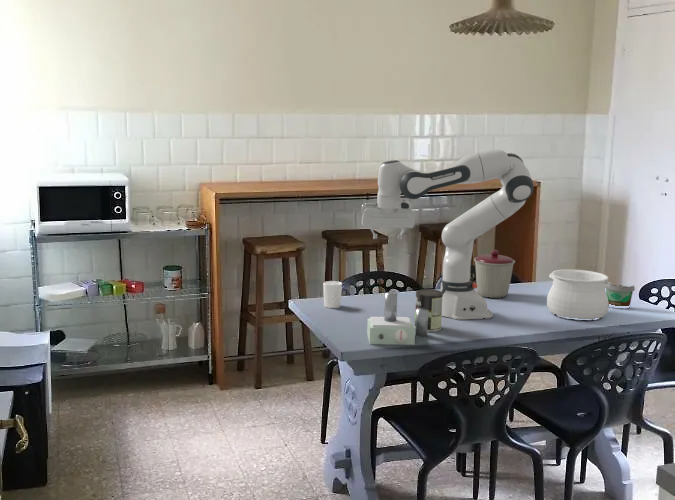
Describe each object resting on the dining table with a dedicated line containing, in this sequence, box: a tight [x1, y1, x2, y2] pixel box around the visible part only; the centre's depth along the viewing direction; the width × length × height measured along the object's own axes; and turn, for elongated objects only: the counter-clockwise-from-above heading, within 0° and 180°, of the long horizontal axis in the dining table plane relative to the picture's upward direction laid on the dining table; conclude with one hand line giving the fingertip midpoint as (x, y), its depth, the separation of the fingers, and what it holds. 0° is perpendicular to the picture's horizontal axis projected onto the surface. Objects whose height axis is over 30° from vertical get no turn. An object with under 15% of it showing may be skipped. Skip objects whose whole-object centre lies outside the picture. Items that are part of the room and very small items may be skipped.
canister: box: [473, 249, 516, 299], centre depth 350 cm, size 18×18×21 cm
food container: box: [605, 284, 636, 306], centre depth 334 cm, size 12×6×10 cm, turn 68°
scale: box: [366, 316, 416, 346], centre depth 282 cm, size 16×14×7 cm
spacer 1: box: [383, 291, 398, 322], centre depth 282 cm, size 4×4×10 cm
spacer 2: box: [415, 308, 428, 338], centre depth 288 cm, size 4×4×10 cm
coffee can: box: [414, 288, 443, 333], centre depth 298 cm, size 10×10×14 cm
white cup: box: [322, 280, 343, 309], centre depth 327 cm, size 8×8×10 cm
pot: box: [546, 269, 611, 319], centre depth 321 cm, size 26×24×17 cm
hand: (387, 239), depth 299 cm, fingers open, 8 cm apart
